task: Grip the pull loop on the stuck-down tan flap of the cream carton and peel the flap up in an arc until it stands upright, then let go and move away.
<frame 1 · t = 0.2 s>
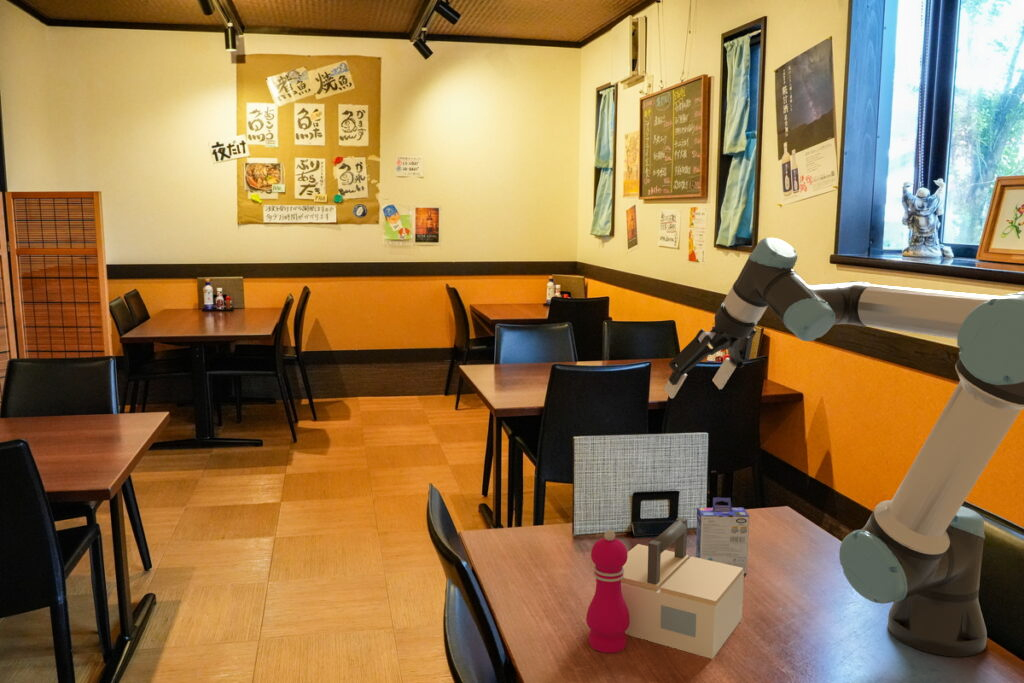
hand: (693, 389, 174), 36 cm above the table, tool tilted 35°, fingers open, 13 cm apart
carton: (672, 623, 149), on the table
flap: (647, 547, 150), point 13 cm above the table, hinge at 0.0°
ink cartridge box: (720, 569, 172), on the table
pepper mill: (607, 644, 142), on the table
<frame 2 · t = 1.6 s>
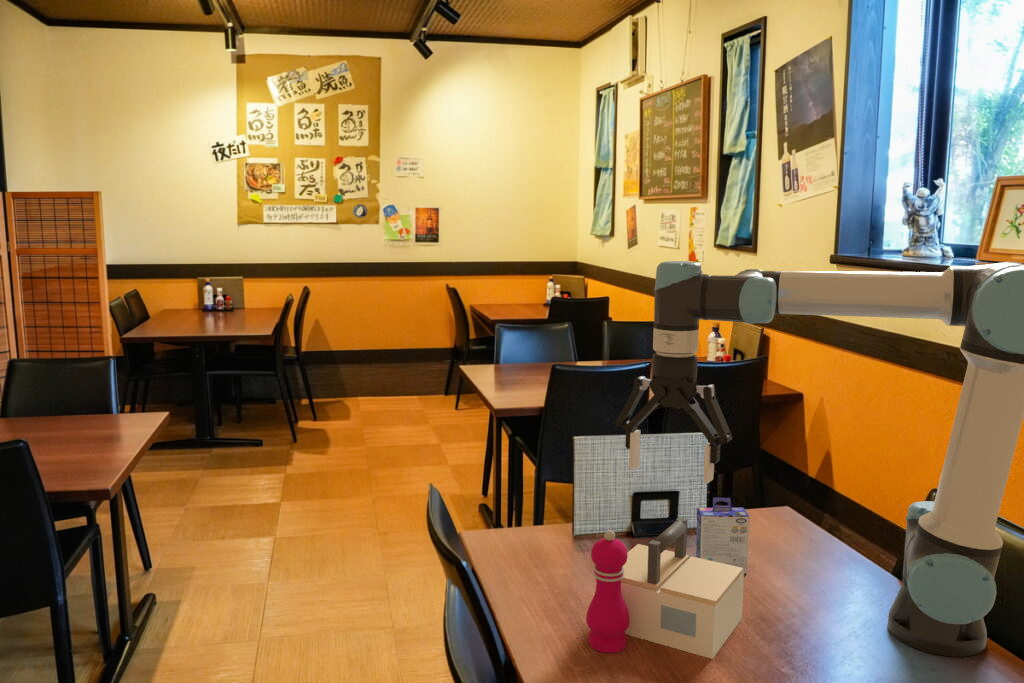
hand: (670, 474, 146), 27 cm above the table, tool pointing down, fingers open, 13 cm apart
nothing on the table moved.
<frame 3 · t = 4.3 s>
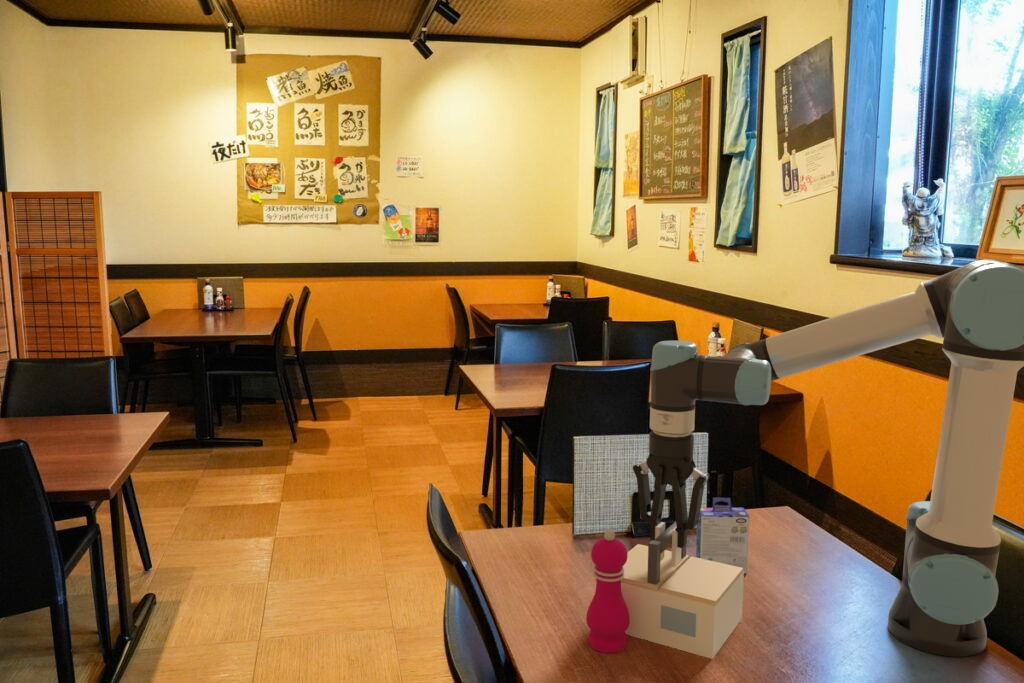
hand: (667, 561, 148), 11 cm above the table, tool pointing down, fingers closed on flap, 2 cm apart
flap: (647, 547, 150), point 13 cm above the table, hinge at -0.1°, touching gripper
everything else where it was.
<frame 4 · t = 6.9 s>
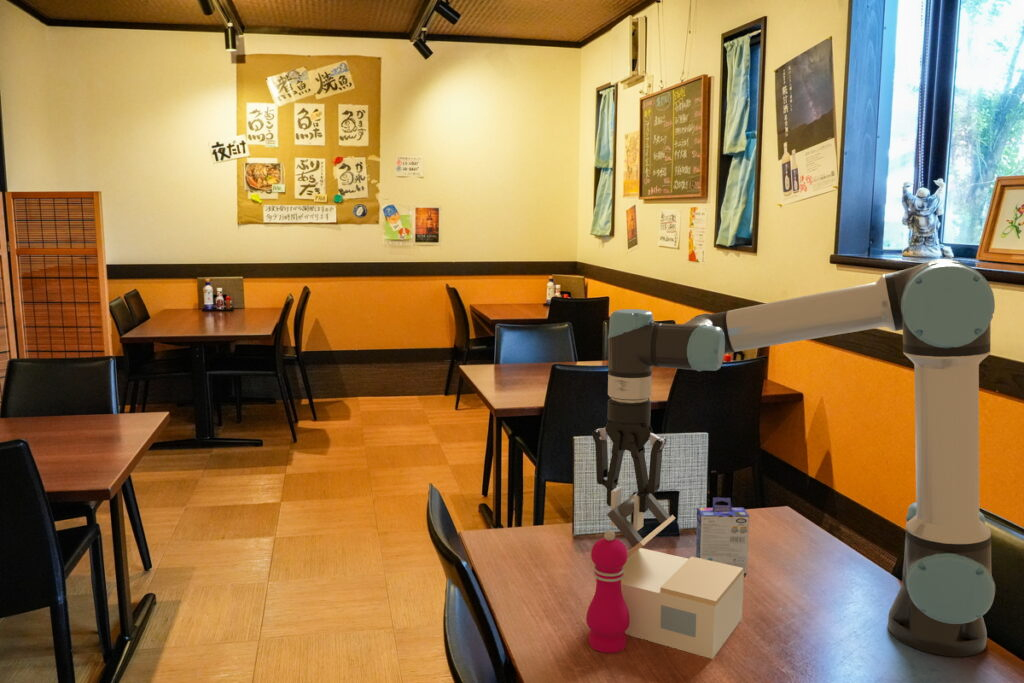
hand: (626, 525, 152), 16 cm above the table, tool pointing down, fingers open, 4 cm apart
flap: (626, 529, 152), point 16 cm above the table, hinge at 46.0°, touching gripper
everything else where it was.
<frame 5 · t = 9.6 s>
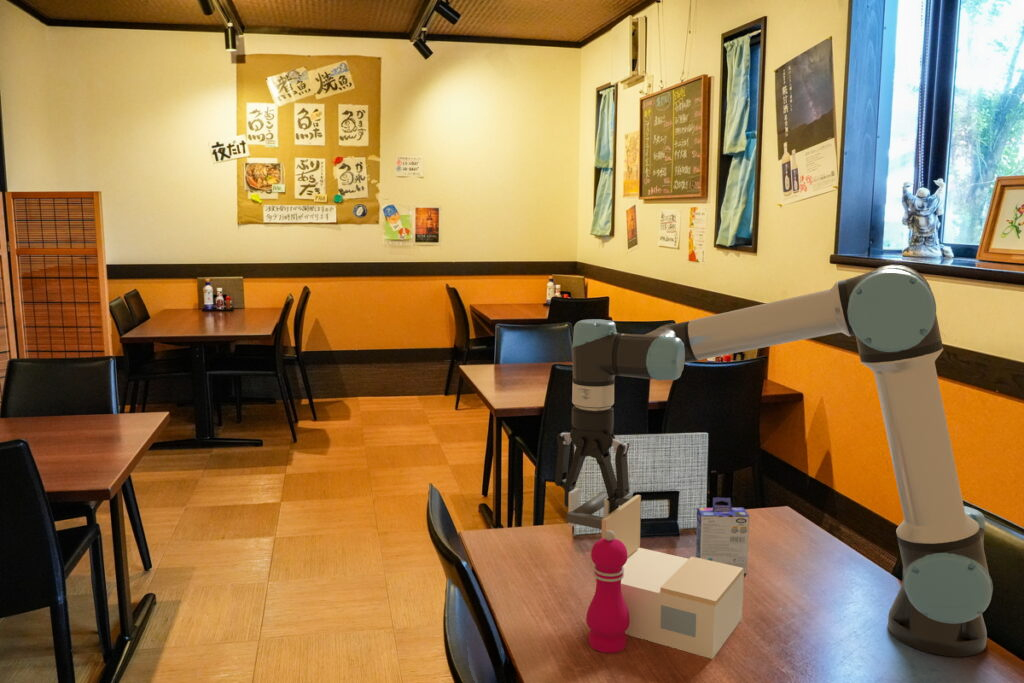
hand: (590, 527, 156), 14 cm above the table, tool pointing down, fingers open, 6 cm apart
flap: (604, 529, 154), point 14 cm above the table, hinge at 90.5°, touching gripper
everything else where it was.
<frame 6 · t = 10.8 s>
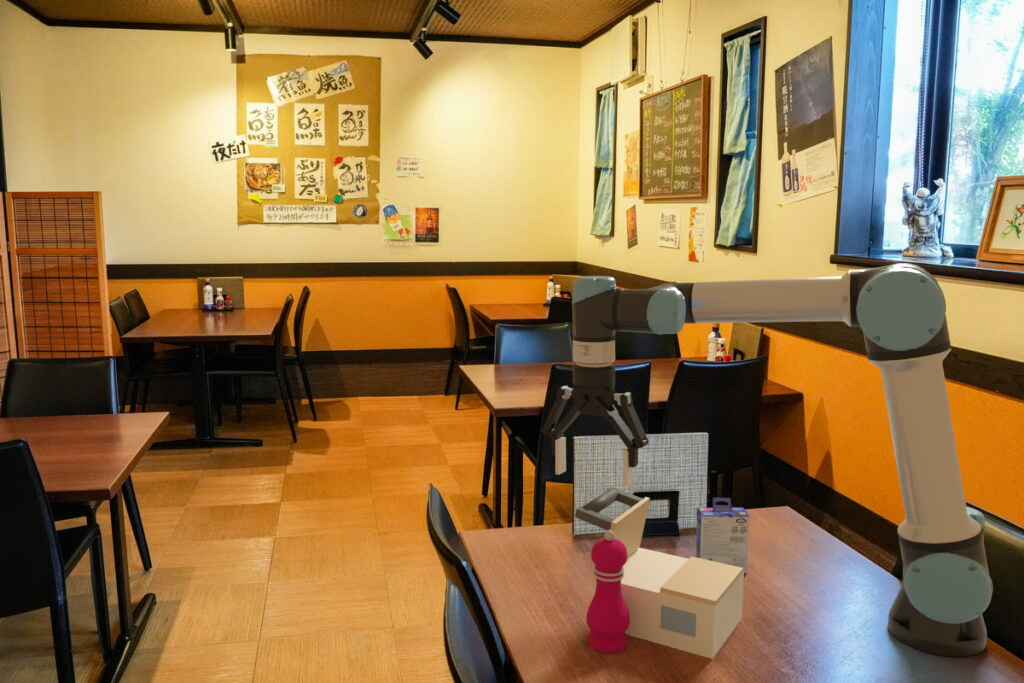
hand: (593, 478, 154), 24 cm above the table, tool pointing down, fingers open, 13 cm apart
flap: (609, 527, 154), point 15 cm above the table, hinge at 79.9°
everything else where it was.
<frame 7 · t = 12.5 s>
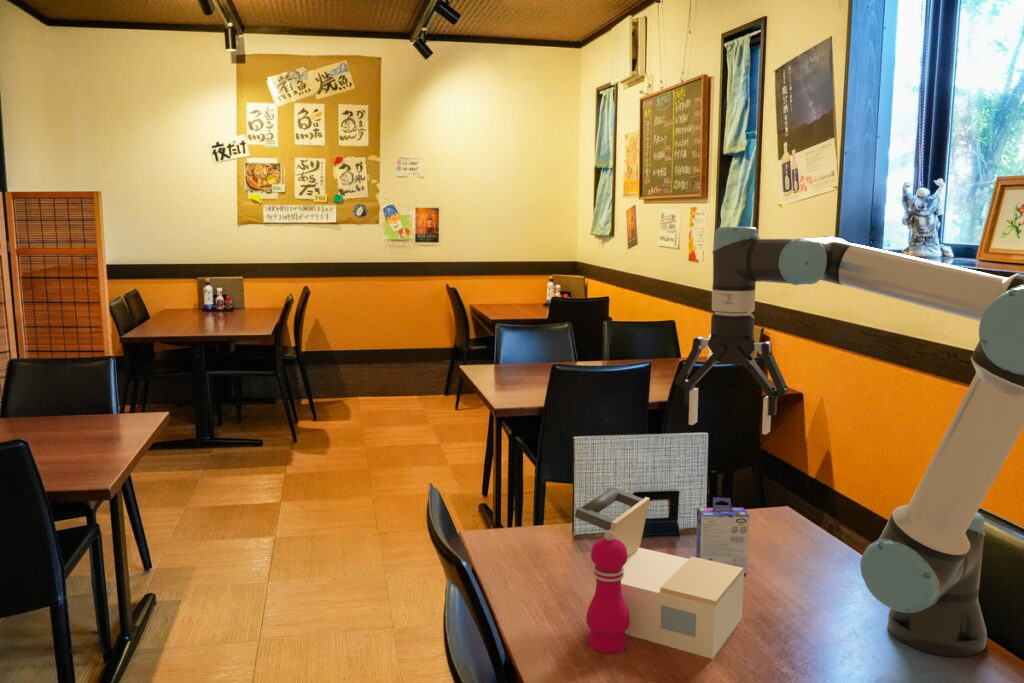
hand: (728, 428, 155), 32 cm above the table, tool pointing down, fingers open, 13 cm apart
nothing on the table moved.
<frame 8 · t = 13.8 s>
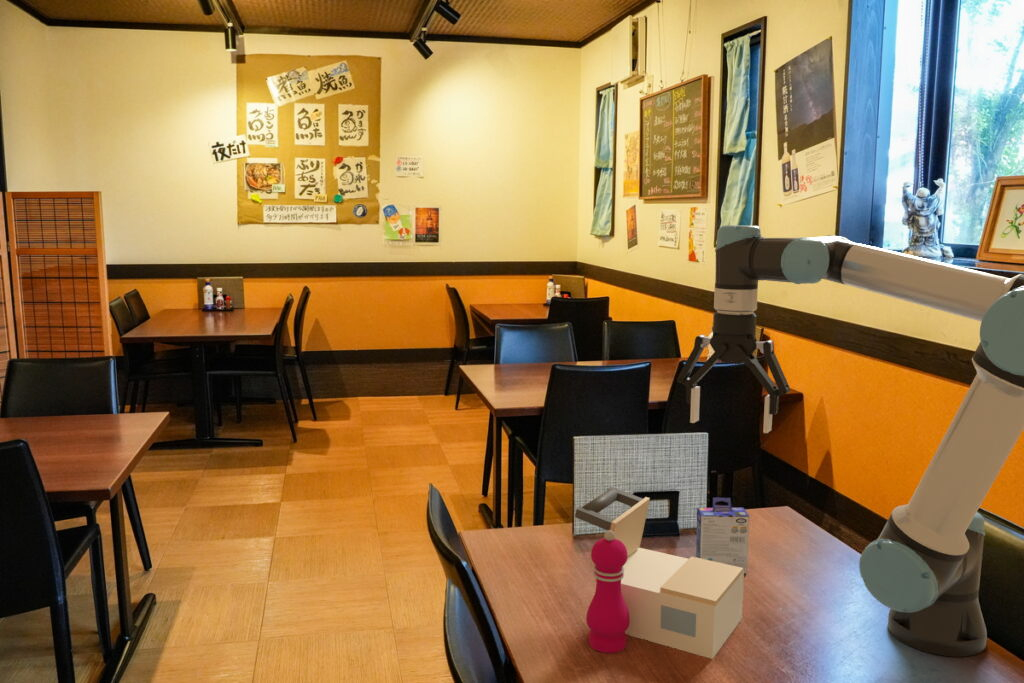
hand: (730, 426, 156), 33 cm above the table, tool pointing down, fingers open, 13 cm apart
nothing on the table moved.
at the end: flap at +80° (first picture: +0°); the gripper is holding nothing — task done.
